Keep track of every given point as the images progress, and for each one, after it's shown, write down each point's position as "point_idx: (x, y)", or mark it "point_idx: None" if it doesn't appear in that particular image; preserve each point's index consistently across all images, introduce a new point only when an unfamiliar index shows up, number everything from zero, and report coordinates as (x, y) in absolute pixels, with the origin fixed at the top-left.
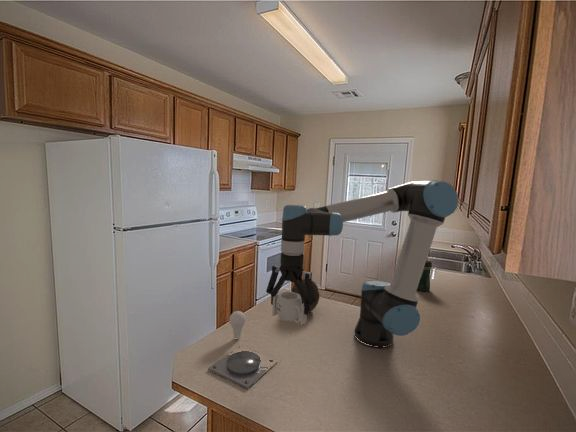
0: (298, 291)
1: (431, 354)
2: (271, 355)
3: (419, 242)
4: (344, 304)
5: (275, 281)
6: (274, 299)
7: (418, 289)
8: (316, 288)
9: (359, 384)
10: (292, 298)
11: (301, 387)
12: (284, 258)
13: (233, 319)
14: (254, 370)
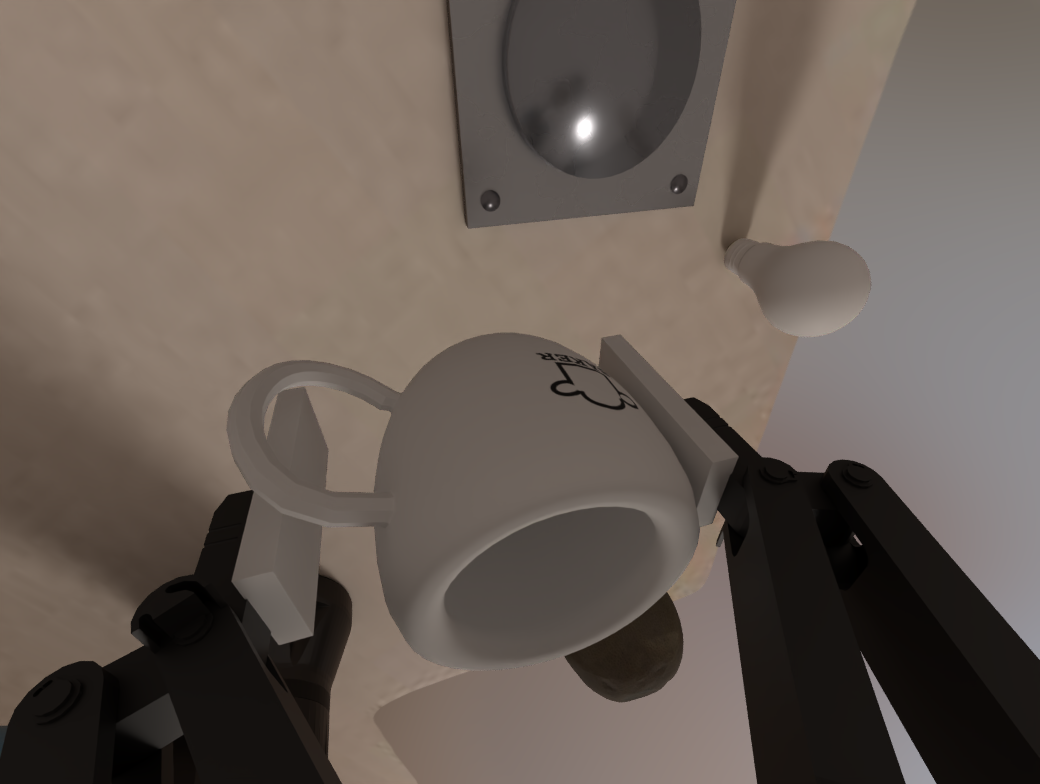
0: (643, 623)
1: (21, 687)
2: (525, 255)
3: None
4: None
5: (884, 678)
6: (699, 441)
7: None
8: (585, 679)
9: (8, 362)
10: (547, 579)
11: (199, 119)
12: None
13: (839, 253)
14: (506, 36)
